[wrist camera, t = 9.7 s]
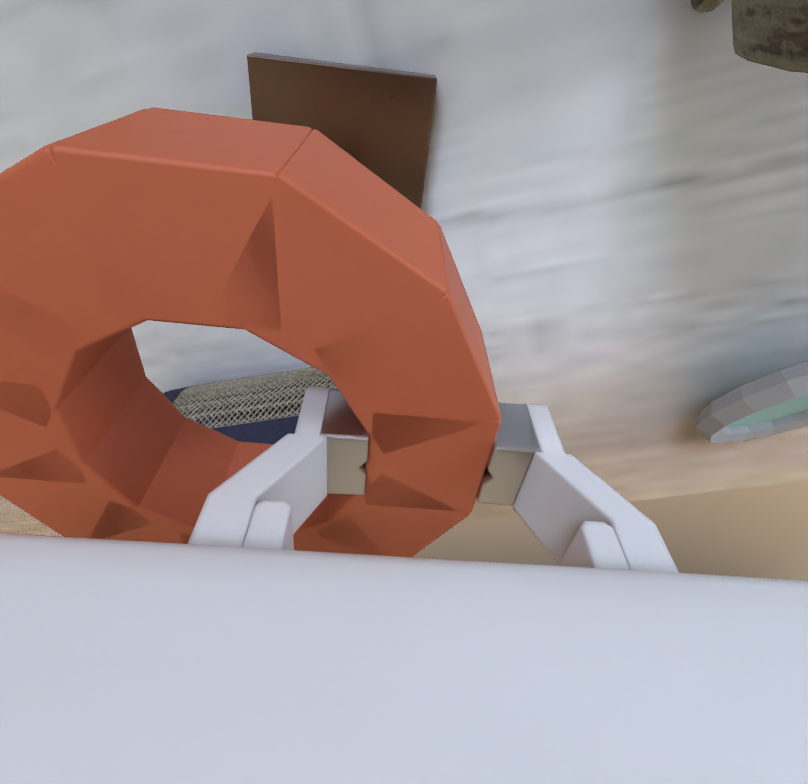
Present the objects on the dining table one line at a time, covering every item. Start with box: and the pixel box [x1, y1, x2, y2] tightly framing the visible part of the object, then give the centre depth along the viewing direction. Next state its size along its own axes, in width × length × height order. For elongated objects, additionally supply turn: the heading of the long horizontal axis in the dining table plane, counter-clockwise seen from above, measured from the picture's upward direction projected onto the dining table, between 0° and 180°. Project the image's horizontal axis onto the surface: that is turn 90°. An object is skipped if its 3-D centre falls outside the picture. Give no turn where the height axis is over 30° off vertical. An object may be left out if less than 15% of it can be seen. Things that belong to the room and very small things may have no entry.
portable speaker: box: [163, 367, 337, 444], centre depth 37 cm, size 25×10×10 cm, turn 101°
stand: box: [247, 53, 437, 209], centre depth 24 cm, size 10×10×14 cm
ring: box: [0, 108, 501, 557], centre depth 11 cm, size 11×11×3 cm
